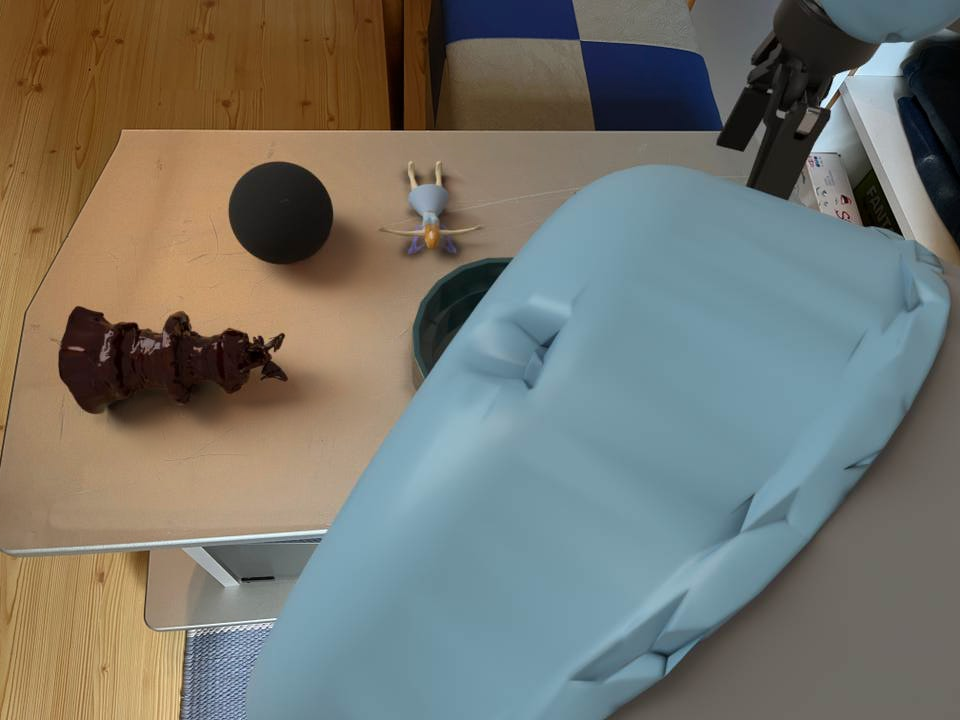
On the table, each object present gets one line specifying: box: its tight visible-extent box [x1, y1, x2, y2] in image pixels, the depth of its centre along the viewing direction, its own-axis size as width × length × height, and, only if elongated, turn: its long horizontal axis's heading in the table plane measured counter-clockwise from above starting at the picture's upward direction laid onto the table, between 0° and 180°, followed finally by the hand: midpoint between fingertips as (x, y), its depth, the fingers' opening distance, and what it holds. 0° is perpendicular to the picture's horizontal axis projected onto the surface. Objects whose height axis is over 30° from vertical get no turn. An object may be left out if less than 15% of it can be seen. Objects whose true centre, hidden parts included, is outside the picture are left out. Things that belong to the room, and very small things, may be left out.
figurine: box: [57, 305, 289, 415], centre depth 67 cm, size 10×10×18 cm
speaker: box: [227, 160, 334, 266], centre depth 73 cm, size 10×10×10 cm
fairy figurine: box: [375, 160, 487, 255], centre depth 80 cm, size 12×5×12 cm
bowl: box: [410, 256, 515, 392], centre depth 71 cm, size 18×18×6 cm
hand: (725, 198), depth 69 cm, fingers open, 13 cm apart
